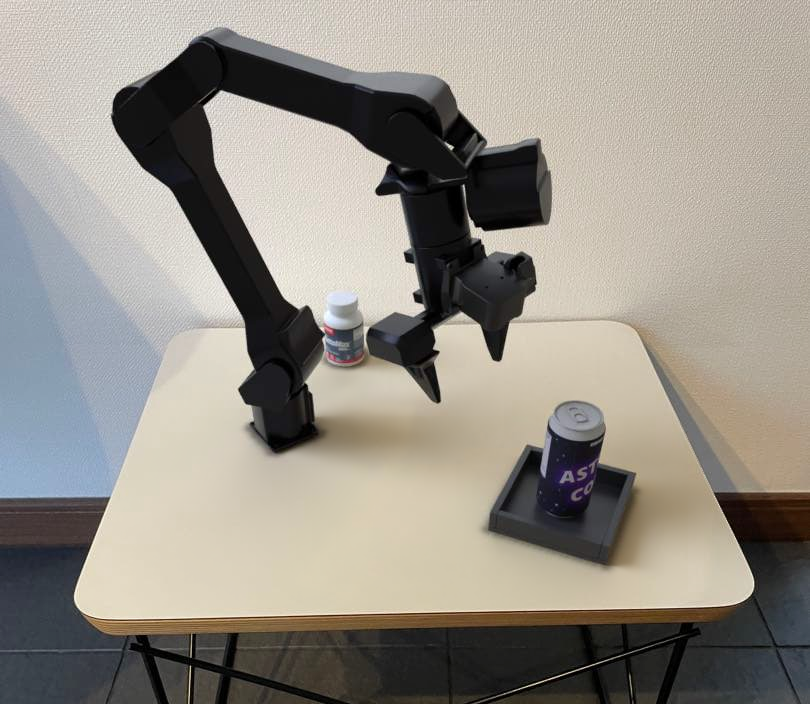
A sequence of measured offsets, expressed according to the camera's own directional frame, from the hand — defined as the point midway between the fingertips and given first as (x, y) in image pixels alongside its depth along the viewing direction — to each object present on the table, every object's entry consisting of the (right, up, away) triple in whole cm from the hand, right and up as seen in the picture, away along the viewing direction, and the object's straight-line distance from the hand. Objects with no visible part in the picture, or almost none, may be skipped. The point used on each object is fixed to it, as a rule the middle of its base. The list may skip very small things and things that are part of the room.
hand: (467, 381), depth 81 cm
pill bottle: (-15, +8, +25) cm, 30 cm away
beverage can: (+10, -13, +2) cm, 17 cm away
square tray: (+11, -14, +3) cm, 17 cm away
